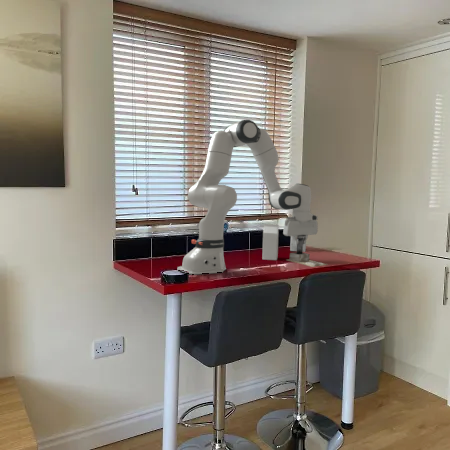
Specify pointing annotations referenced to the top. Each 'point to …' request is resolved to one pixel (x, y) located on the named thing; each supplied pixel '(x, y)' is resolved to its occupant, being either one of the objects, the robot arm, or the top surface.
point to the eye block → (304, 259)
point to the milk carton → (270, 242)
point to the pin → (300, 244)
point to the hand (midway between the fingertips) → (299, 244)
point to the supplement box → (295, 246)
